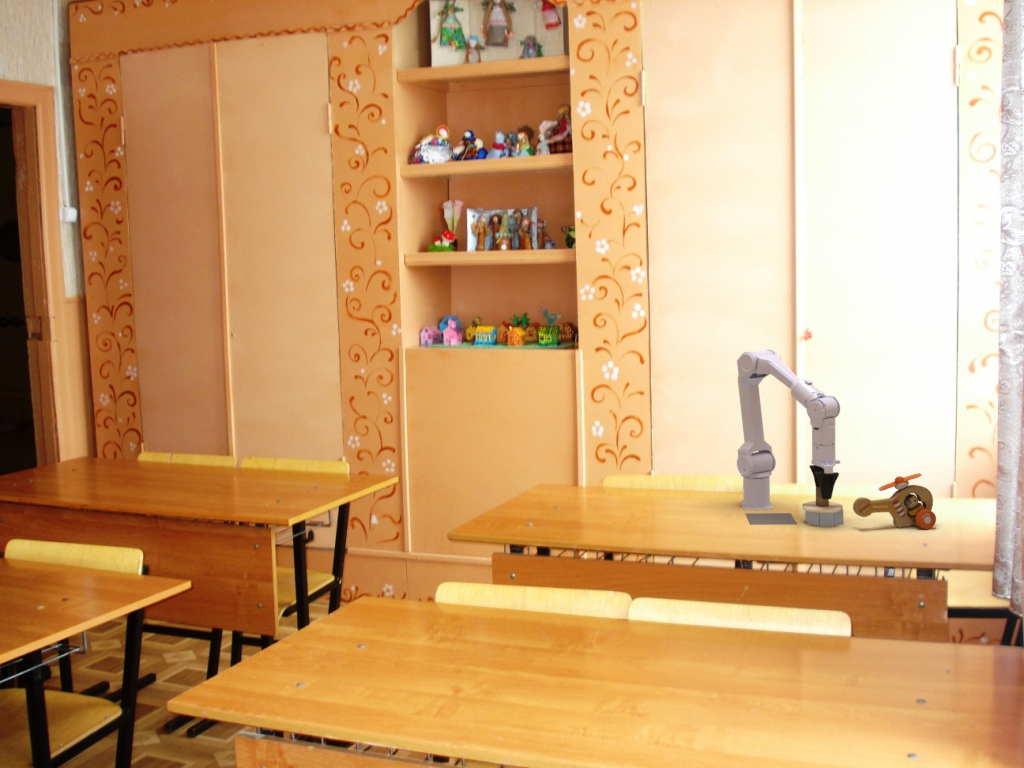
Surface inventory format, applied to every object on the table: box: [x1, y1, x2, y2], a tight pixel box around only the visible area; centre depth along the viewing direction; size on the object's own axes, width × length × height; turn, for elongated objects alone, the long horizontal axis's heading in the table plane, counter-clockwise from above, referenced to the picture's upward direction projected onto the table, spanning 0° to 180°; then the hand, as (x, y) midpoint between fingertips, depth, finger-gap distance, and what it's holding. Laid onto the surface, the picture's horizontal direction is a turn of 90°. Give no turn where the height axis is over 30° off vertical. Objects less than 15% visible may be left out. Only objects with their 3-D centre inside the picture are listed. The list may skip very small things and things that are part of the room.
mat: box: [745, 512, 798, 526], centre depth 263 cm, size 12×12×1 cm
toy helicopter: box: [852, 473, 937, 530], centre depth 250 cm, size 8×21×14 cm, turn 98°
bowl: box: [804, 509, 844, 528], centre depth 257 cm, size 9×9×4 cm
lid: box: [801, 486, 844, 513], centre depth 256 cm, size 10×10×5 cm
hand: (823, 495), depth 256 cm, fingers open, 7 cm apart
